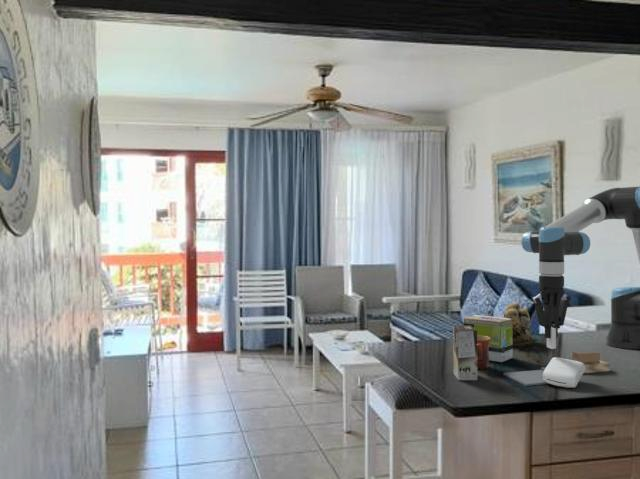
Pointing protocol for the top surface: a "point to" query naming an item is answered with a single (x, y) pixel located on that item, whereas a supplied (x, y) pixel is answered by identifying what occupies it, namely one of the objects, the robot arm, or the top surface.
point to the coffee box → (465, 352)
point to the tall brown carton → (586, 357)
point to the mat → (528, 377)
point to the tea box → (494, 335)
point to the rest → (597, 367)
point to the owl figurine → (519, 325)
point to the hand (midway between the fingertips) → (551, 347)
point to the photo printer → (563, 372)
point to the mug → (483, 351)
